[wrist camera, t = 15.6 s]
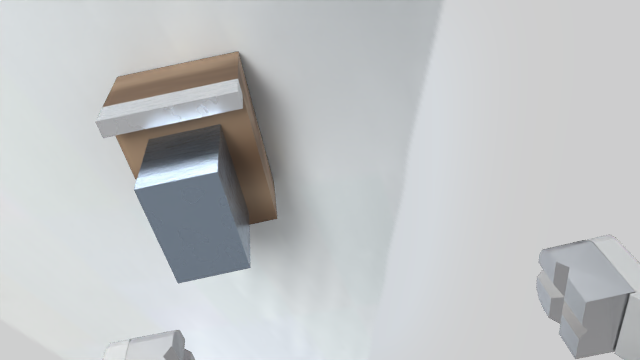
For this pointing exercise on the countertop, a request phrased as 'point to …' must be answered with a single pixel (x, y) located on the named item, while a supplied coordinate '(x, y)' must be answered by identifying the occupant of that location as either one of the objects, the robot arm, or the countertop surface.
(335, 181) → the countertop surface
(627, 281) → the robot arm
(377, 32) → the countertop surface
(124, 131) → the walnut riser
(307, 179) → the countertop surface
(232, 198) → the block
